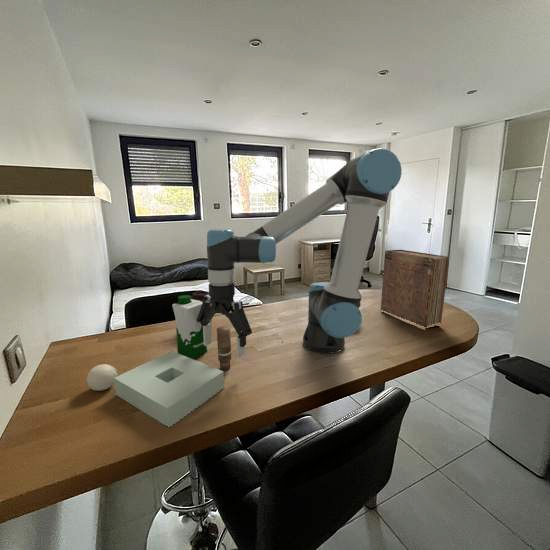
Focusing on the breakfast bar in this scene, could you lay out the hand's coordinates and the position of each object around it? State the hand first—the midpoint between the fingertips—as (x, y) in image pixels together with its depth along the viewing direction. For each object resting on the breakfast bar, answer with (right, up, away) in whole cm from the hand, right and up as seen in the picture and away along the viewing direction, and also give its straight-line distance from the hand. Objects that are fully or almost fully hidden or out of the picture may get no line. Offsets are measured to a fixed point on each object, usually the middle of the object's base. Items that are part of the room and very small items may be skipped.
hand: (223, 349), depth 89 cm
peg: (0, -6, +1) cm, 6 cm away
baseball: (-32, -8, -9) cm, 34 cm away
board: (-12, -9, -10) cm, 18 cm away
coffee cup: (-14, +1, +33) cm, 36 cm away
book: (+76, +3, +42) cm, 87 cm away
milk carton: (-13, -4, +11) cm, 17 cm away
